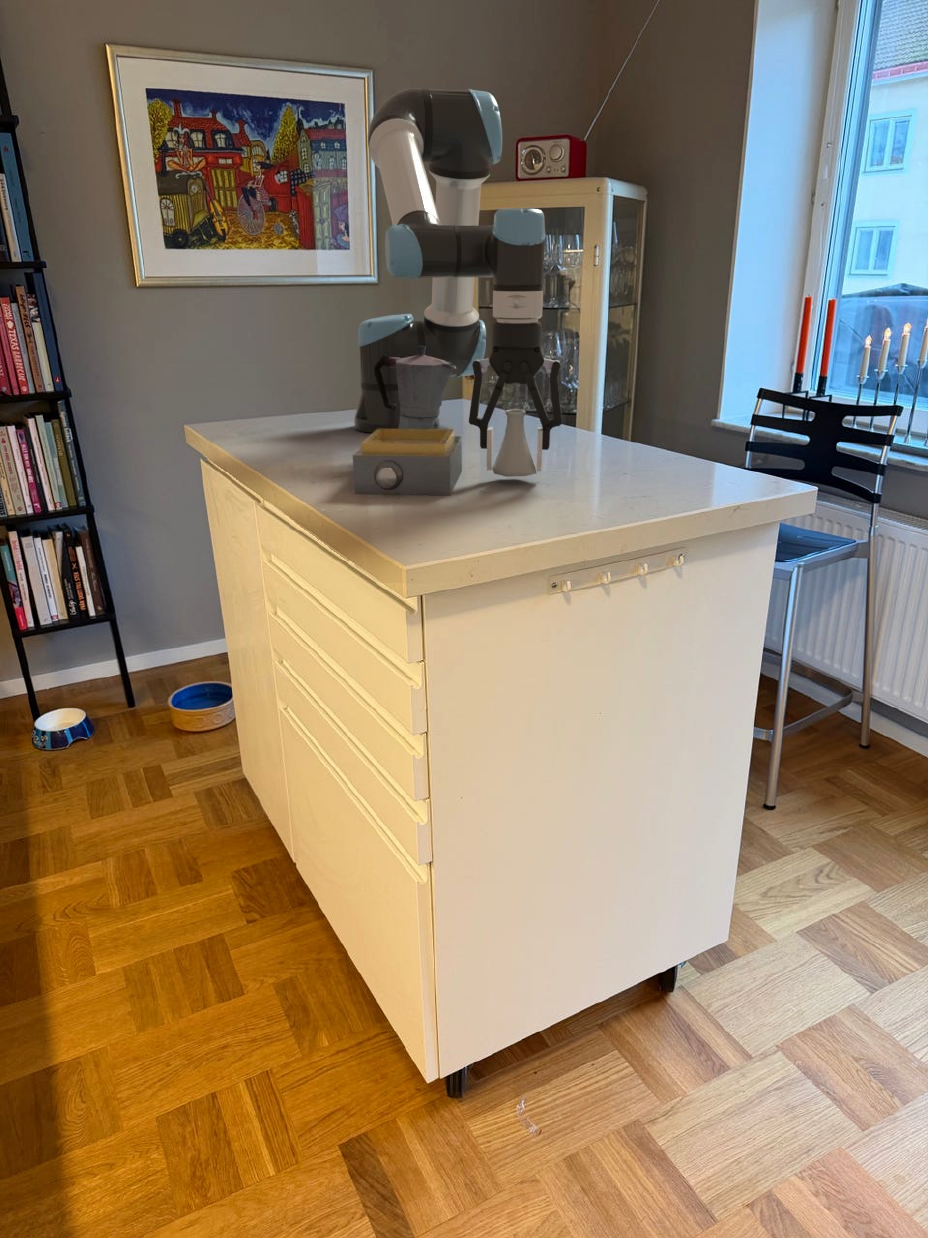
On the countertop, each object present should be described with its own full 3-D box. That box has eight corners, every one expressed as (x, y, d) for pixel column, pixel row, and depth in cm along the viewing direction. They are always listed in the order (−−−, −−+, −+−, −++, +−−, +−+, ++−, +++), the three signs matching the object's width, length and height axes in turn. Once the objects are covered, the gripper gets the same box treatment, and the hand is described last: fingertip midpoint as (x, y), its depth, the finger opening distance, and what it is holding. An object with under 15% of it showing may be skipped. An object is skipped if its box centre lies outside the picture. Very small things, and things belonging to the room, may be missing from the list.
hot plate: (376, 469, 150) (374, 426, 147) (461, 471, 149) (461, 427, 146) (351, 497, 132) (348, 448, 129) (448, 499, 131) (447, 449, 128)
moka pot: (451, 465, 153) (450, 347, 146) (368, 462, 156) (363, 346, 149) (462, 454, 162) (461, 343, 155) (383, 451, 165) (379, 342, 158)
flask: (484, 470, 142) (485, 408, 139) (524, 466, 145) (525, 405, 141) (503, 480, 136) (504, 416, 132) (544, 475, 139) (546, 412, 135)
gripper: (448, 321, 129) (449, 472, 138) (584, 322, 127) (577, 475, 136) (454, 318, 136) (455, 462, 145) (583, 318, 134) (576, 464, 143)
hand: (514, 468), depth 140 cm, fingers closed on flask, 7 cm apart
